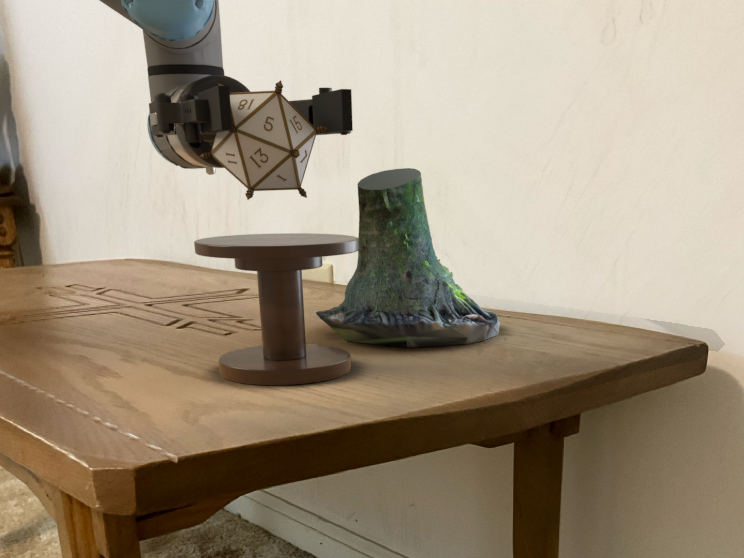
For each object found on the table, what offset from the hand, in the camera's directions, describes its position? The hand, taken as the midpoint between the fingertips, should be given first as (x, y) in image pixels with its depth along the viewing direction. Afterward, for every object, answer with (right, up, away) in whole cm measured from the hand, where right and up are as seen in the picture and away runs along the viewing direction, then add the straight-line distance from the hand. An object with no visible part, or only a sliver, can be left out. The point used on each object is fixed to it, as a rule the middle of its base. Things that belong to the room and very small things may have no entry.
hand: (288, 109), depth 60 cm
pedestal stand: (-2, -16, +12) cm, 20 cm away
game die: (-2, -4, +6) cm, 8 cm away
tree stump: (+9, -10, +27) cm, 30 cm away
